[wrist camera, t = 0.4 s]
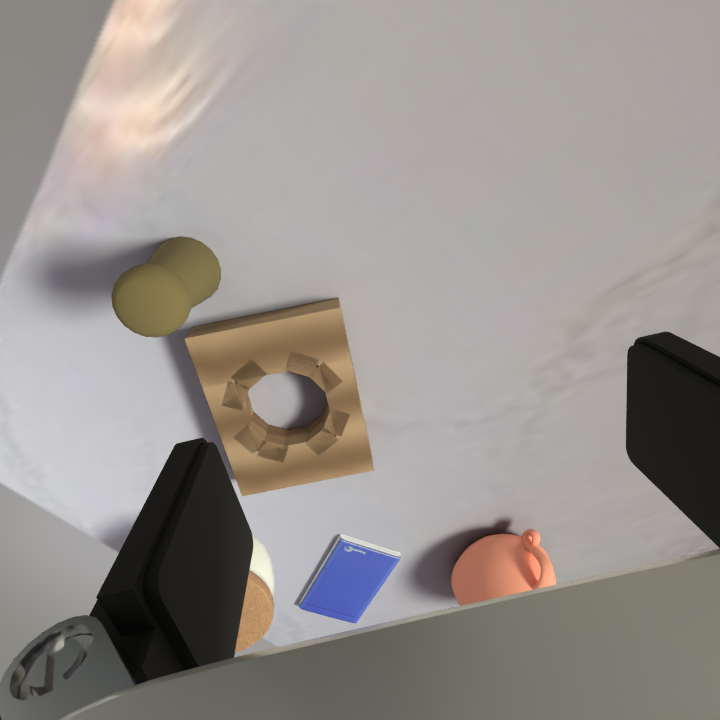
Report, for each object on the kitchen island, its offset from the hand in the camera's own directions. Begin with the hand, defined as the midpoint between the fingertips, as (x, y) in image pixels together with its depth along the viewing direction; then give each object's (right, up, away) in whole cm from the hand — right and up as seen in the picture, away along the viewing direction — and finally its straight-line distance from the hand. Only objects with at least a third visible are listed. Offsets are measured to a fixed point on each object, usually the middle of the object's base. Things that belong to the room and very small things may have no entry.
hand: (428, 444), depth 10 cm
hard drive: (-3, -25, +49) cm, 55 cm away
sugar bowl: (+16, -23, +49) cm, 56 cm away
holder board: (-9, -2, +37) cm, 38 cm away
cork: (-17, +10, +32) cm, 37 cm away
